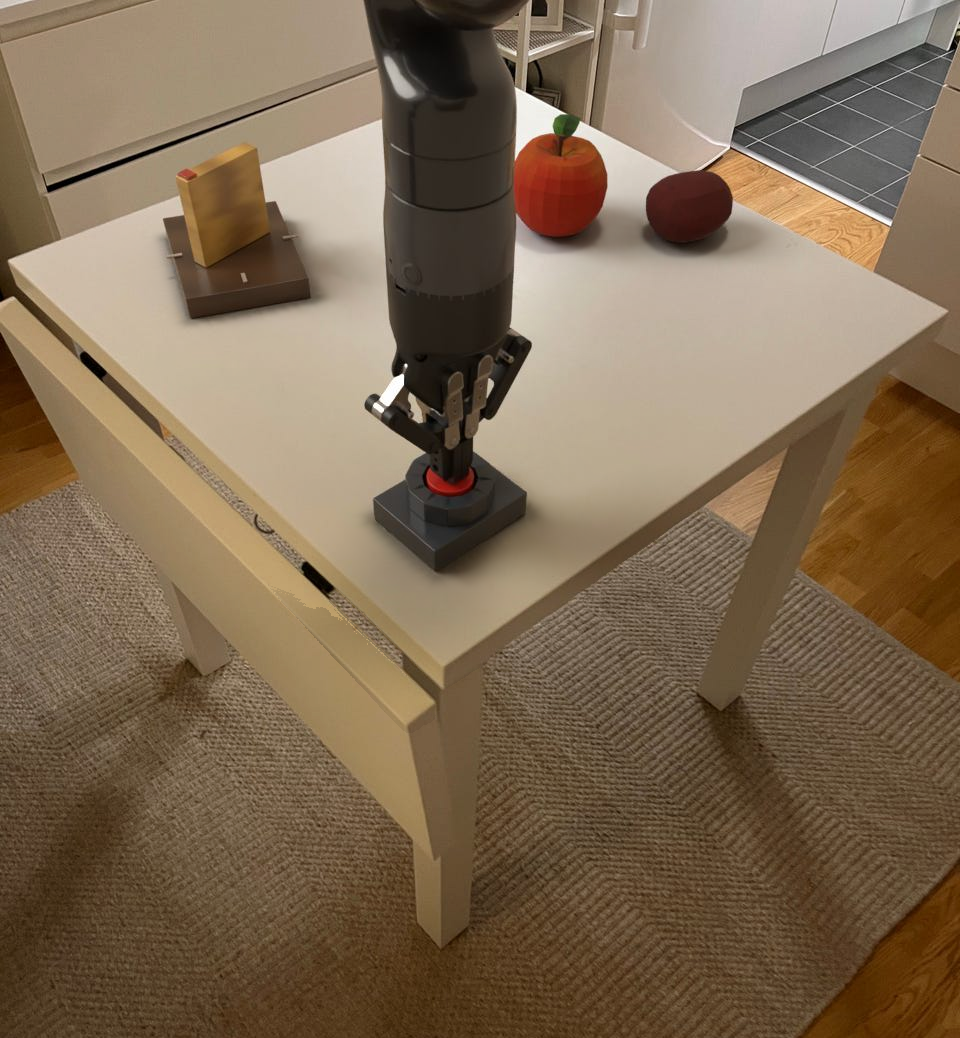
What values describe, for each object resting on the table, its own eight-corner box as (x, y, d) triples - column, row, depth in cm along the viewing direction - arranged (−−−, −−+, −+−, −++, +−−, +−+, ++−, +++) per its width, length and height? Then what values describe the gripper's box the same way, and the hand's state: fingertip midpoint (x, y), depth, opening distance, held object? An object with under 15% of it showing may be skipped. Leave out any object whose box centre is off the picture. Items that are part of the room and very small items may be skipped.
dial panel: (160, 238, 97) (155, 217, 95) (284, 218, 99) (281, 198, 98) (183, 320, 89) (178, 298, 87) (317, 296, 91) (314, 275, 90)
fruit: (493, 240, 98) (496, 137, 90) (524, 193, 103) (530, 93, 95) (586, 261, 96) (598, 158, 88) (613, 212, 101) (626, 111, 93)
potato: (630, 220, 101) (639, 161, 96) (712, 209, 102) (725, 151, 97) (657, 260, 96) (668, 201, 91) (742, 249, 98) (757, 189, 93)
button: (448, 516, 71) (447, 498, 70) (417, 491, 73) (416, 473, 71) (483, 494, 73) (483, 477, 71) (452, 470, 74) (452, 452, 73)
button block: (435, 572, 71) (434, 533, 68) (374, 519, 74) (370, 479, 71) (525, 513, 75) (529, 474, 72) (464, 465, 78) (464, 425, 75)
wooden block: (258, 226, 95) (244, 138, 88) (270, 232, 94) (256, 144, 88) (194, 261, 91) (174, 173, 84) (206, 268, 90) (186, 179, 84)
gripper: (490, 190, 62) (484, 410, 76) (319, 267, 56) (345, 489, 70) (576, 240, 59) (553, 460, 72) (403, 328, 53) (414, 548, 67)
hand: (451, 474), depth 71 cm, fingers closed
